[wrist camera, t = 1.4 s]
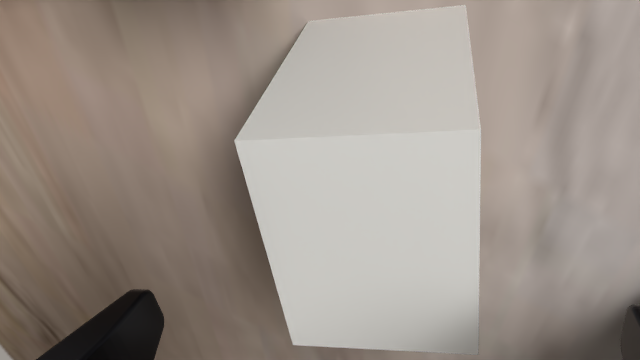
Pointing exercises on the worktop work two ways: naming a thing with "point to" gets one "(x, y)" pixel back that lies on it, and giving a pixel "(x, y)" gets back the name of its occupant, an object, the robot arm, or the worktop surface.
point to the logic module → (372, 182)
